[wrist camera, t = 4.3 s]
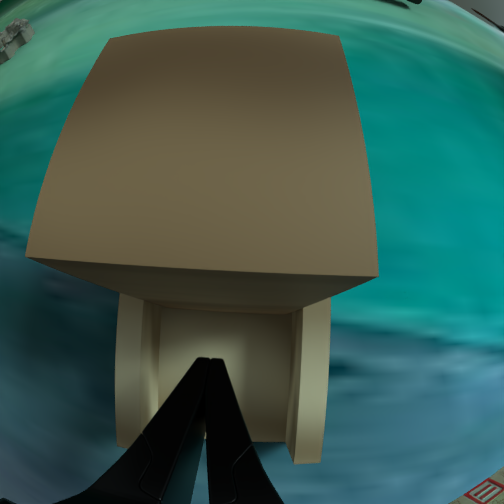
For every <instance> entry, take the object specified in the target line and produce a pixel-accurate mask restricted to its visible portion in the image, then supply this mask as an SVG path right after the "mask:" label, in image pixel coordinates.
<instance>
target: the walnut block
mask: <svg viewBox="0 0 504 504" xmlns="http://www.w3.org/2000/svg"><path fill="white" fill-rule="evenodd" d="M25 257H27V258H29V259H32V260H34V261H37V262H39V263H41V264H44V265H46V266H49V267H51V268H54V269H56V270H59V271H62V272H64V273H67V274H69V275H72V276H75V277H77V278H80V279H83V280H85V281H88V282H91V283H94V284H96V285H99V286H102V287H105V288H108V289H111V290H114V291H116V292H119V293H122V294H125V295H128V296H131V297H134V298H137V299H141V300H144V301H147V302H150V303H153V304H156V305H160V306H163V307H166V308H174V309H186V310H199V311H214V312H231V313H251V314H277V315H286V314H289V313H291V312H294V311H296V310H299V309H302V308H304V307H307V306H309V305H312V304H314V303H317V302H319V301H322V300H324V299H327V298H329V297H332V296H334V295H337V294H339V293H341V292H344V291H346V290H349V289H351V288H353V287H356V286H358V285H360V284H363V283H365V282H367V281H370V280H372V279H374V278H376V277H379V275H378V255H377V240H376V228H375V217H374V207H373V198H372V190H371V182H370V175H369V168H368V161H367V155H366V149H365V143H364V137H363V132H362V127H361V122H360V117H359V112H358V107H357V103H356V98H355V94H354V89H353V85H352V81H351V77H350V73H349V69H348V66H347V62H346V58H345V55H344V51H343V48H342V44H341V41H340V38H339V36H336V35H330V34H324V33H318V32H311V31H303V30H295V29H284V28H272V27H254V26H207V27H189V28H176V29H166V30H158V31H150V32H143V33H137V34H131V35H125V36H120V37H115V38H110V39H109V41H108V42H107V44H106V45H105V47H104V49H103V50H102V52H101V54H100V55H99V57H98V59H97V60H96V62H95V64H94V66H93V67H92V69H91V71H90V73H89V75H88V76H87V78H86V80H85V82H84V84H83V86H82V88H81V90H80V92H79V94H78V96H77V98H76V100H75V102H74V104H73V106H72V109H71V111H70V113H69V115H68V117H67V120H66V122H65V124H64V127H63V129H62V131H61V134H60V136H59V139H58V141H57V144H56V147H55V149H54V152H53V155H52V157H51V160H50V163H49V166H48V169H47V172H46V175H45V178H44V181H43V185H42V188H41V191H40V195H39V198H38V202H37V205H36V209H35V213H34V217H33V221H32V225H31V230H30V234H29V239H28V244H27V249H26V255H25Z"/></svg>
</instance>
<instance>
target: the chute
mask: <svg viewBox="0 0 504 504" xmlns="http://www.w3.org/2000/svg"><path fill="white" fill-rule="evenodd" d="M330 316H331V297H329V298H327V299H324V300H322V301H319V302H317V303H314V304H312V305H309V306H307V307H304V308H302V309H299V310H296V311H294V312H291V313H289V314H286V315H277V314H251V313H231V312H214V311H199V310H186V309H174V308H166V307H163V306H160V305H156V304H153V303H150V302H147V301H144V300H141V299H137V298H134V297H131V296H128V295H125V294H122V293H120V296H119V306H118V319H117V334H116V356H115V416H116V437H117V446H119V447H123V448H127V449H128V448H129V447H130V446H131V445H132V444H133V442H134V441H135V440H136V439H137V437H138V436H139V435H140V433H142V431H143V429H144V428H145V427H146V425H147V424H148V423H149V422H150V420H151V419H152V418H153V416H154V415H155V414H156V412H157V411H158V410H159V408H160V407H161V406H162V404H163V403H164V402H165V400H166V399H167V398H168V396H169V395H170V393H171V392H172V391H173V389H174V388H175V387H176V385H177V384H178V383H179V381H180V380H181V379H182V377H183V376H184V375H185V373H186V372H187V371H188V369H189V368H190V366H191V365H192V364H193V362H194V361H195V360H196V358H198V357H208V358H210V359H211V358H222V359H223V360H224V362H225V365H226V368H227V371H228V374H229V377H230V380H231V383H232V386H233V389H234V392H235V395H236V398H237V401H238V403H239V406H240V409H241V412H242V415H243V418H244V420H245V423H246V426H247V428H248V431H249V434H250V437H251V439H252V442H286V445H287V448H288V450H289V453H290V455H291V458H292V461H293V463H294V464H307V463H320V462H321V453H322V445H323V435H324V425H325V414H326V402H327V388H328V371H329V350H330ZM204 439H206V432H205V437H204Z"/></svg>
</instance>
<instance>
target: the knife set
mask: <svg viewBox="0 0 504 504" xmlns="http://www.w3.org/2000/svg"><path fill="white" fill-rule="evenodd" d="M407 1H409V2H412V3H415V4H420V3H421V2H422V0H407Z"/></svg>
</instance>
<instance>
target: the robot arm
mask: <svg viewBox="0 0 504 504" xmlns="http://www.w3.org/2000/svg"><path fill="white" fill-rule="evenodd" d="M205 432H206V451H207V472H208V489H209V504H284V502H283V501H282V499H281V498H280V496H279V495H278V493H277V491H276V490H275V488H274V486H273V485H272V483H271V481H270V480H269V478H268V476H267V474H266V472H265V470H264V469H263V466H262V464H261V462H260V459H259V457H258V455H257V452H256V450H255V447H254V446H253V442H252V439H251V437H250V434H249V431H248V428H247V426H246V423H245V420H244V418H243V415H242V412H241V409H240V406H239V403H238V401H237V398H236V395H235V392H234V389H233V386H232V383H231V380H230V377H229V374H228V371H227V368H226V365H225V362H224V360H223V359H222V358H211V359H210V358H208V357H198V358H196V360H195V361H194V362H193V364H192V365H191V366H190V368H189V369H188V371H187V372H186V373H185V375H184V376H183V377H182V379H181V380H180V381H179V383H178V384H177V385H176V387H175V388H174V389H173V391H172V392H171V393H170V395H169V396H168V398H167V399H166V400H165V402H164V403H163V404H162V406H161V407H160V408H159V410H158V411H157V412H156V414H155V415H154V416H153V418H152V419H151V420H150V422H149V423H148V424H147V425H146V427H145V428H144V429H143V431H142V433H140V435H139V436H138V437H137V439H136V440H135V441H134V442H133V444H132V445H131V446H130V447H129V448H128V450H127V451H126V452H125V453H124V454H123V455H122V456H121V457H120V458H119V459H118V460H117V462H116V463H115V464H113V465H112V466H111V467H110V468H109V469H108V470H107V471H106V472H105V473H104V474H103V475H102V476H101V477H100V478H99V479H98V480H97V481H96V482H95V483H94V484H92V485H91V486H90V487H89V488H88V489H86V490H85V491H83V492H81V493H80V494H77V495H75V496H73V497H70V498H67V499H65V500H62V501H59V502H56V503H54V504H190V503H191V499H192V494H193V489H194V484H195V480H196V475H197V470H198V465H199V461H200V456H201V451H202V446H203V442H204V437H205ZM0 504H16V503H14V502H12V501H10V500H8V499H5V498H1V499H0Z"/></svg>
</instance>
